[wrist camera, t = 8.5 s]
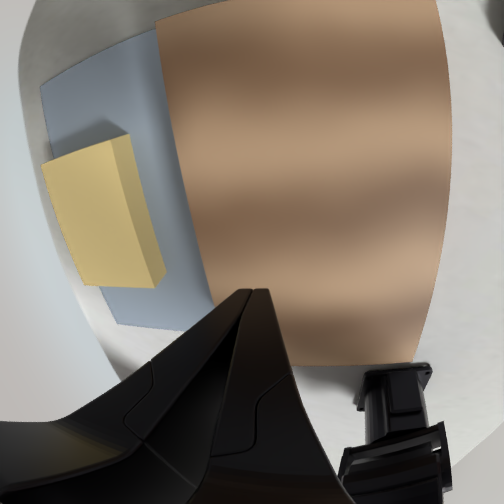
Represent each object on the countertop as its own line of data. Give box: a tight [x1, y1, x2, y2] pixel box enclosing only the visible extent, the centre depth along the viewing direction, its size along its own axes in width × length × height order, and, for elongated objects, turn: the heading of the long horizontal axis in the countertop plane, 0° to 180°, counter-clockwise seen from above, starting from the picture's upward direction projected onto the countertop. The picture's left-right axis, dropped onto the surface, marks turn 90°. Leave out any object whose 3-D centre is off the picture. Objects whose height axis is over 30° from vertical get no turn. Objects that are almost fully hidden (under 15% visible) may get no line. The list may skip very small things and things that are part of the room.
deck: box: [155, 0, 452, 366], centre depth 14 cm, size 20×12×4 cm, turn 8°
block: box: [41, 134, 167, 288], centre depth 18 cm, size 10×7×2 cm
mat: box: [40, 29, 215, 331], centre depth 19 cm, size 22×12×1 cm, turn 8°
